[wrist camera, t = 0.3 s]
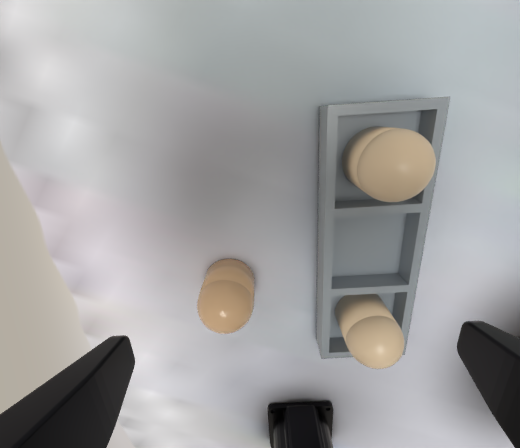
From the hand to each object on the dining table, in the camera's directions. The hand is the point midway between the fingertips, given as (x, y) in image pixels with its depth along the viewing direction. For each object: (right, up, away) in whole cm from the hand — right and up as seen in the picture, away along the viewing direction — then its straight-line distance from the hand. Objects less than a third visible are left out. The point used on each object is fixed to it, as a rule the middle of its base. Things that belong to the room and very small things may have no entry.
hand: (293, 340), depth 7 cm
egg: (-3, -1, +15) cm, 15 cm away
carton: (+7, +2, +13) cm, 15 cm away
